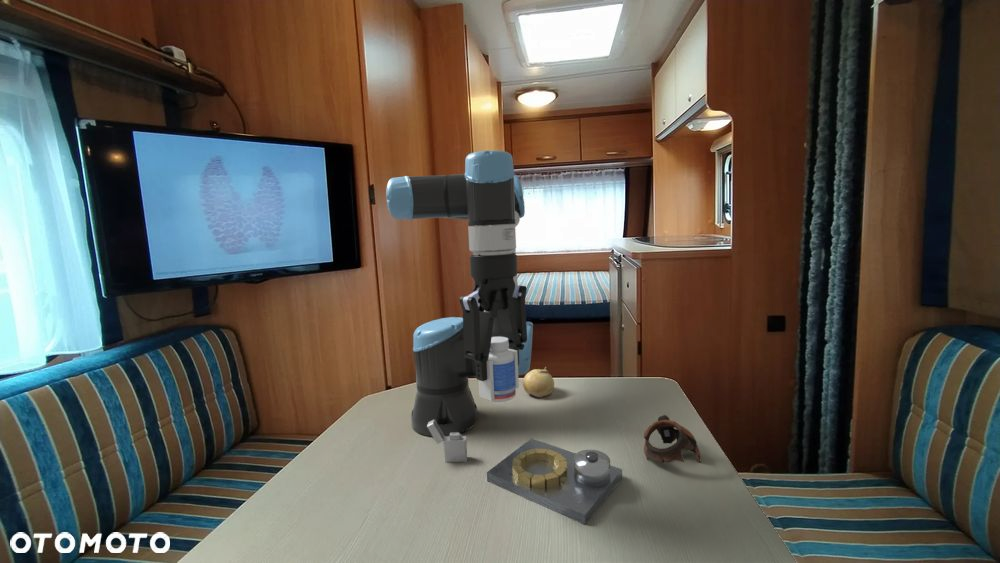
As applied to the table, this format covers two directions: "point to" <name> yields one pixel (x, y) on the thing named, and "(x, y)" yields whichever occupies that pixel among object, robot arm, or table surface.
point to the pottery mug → (670, 441)
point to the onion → (538, 383)
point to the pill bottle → (502, 369)
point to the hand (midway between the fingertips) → (499, 391)
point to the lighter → (450, 443)
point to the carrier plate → (559, 494)
